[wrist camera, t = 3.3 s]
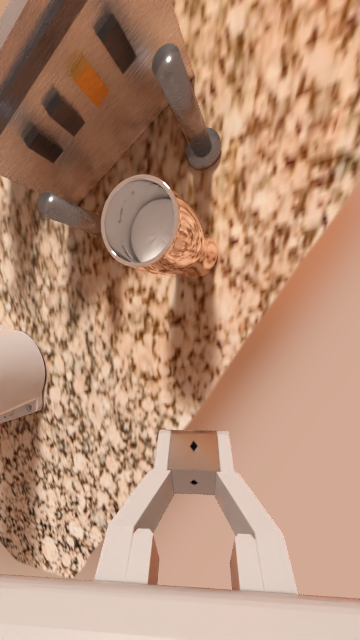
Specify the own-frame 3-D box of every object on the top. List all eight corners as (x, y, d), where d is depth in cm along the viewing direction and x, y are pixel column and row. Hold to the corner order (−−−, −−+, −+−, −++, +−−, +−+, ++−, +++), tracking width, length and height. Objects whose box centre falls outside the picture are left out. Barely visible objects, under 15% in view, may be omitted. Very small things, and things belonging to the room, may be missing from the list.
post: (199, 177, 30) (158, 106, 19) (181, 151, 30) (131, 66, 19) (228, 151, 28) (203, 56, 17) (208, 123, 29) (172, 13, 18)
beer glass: (197, 292, 31) (142, 289, 17) (161, 260, 33) (83, 232, 19) (232, 249, 29) (202, 207, 15) (192, 217, 31) (131, 150, 17)
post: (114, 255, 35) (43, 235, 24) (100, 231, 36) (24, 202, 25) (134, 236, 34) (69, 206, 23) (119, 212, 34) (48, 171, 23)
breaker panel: (77, 213, 37) (-51, 157, 22) (69, 200, 37) (-63, 136, 22) (199, 81, 29) (126, -152, 14) (188, 65, 29) (105, -179, 14)
